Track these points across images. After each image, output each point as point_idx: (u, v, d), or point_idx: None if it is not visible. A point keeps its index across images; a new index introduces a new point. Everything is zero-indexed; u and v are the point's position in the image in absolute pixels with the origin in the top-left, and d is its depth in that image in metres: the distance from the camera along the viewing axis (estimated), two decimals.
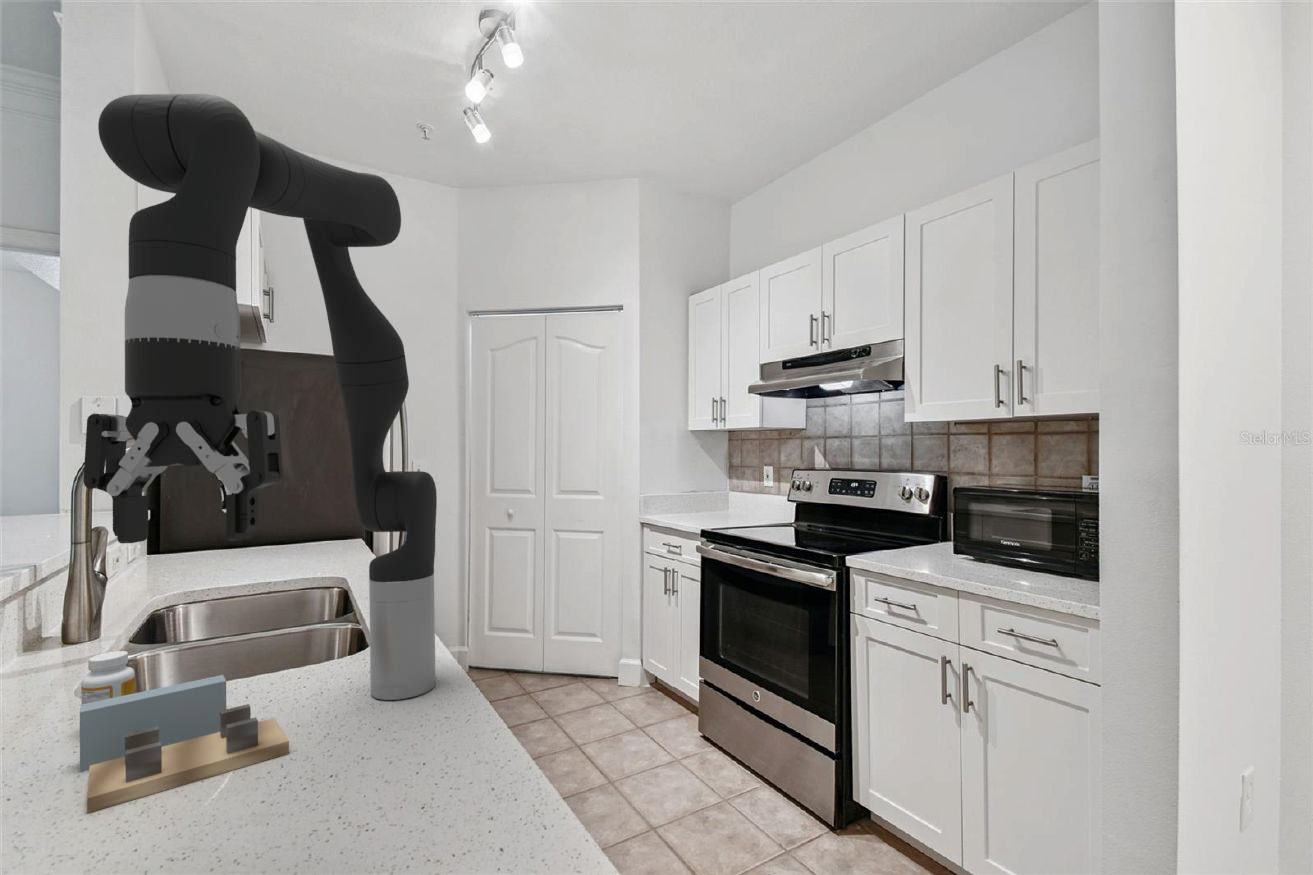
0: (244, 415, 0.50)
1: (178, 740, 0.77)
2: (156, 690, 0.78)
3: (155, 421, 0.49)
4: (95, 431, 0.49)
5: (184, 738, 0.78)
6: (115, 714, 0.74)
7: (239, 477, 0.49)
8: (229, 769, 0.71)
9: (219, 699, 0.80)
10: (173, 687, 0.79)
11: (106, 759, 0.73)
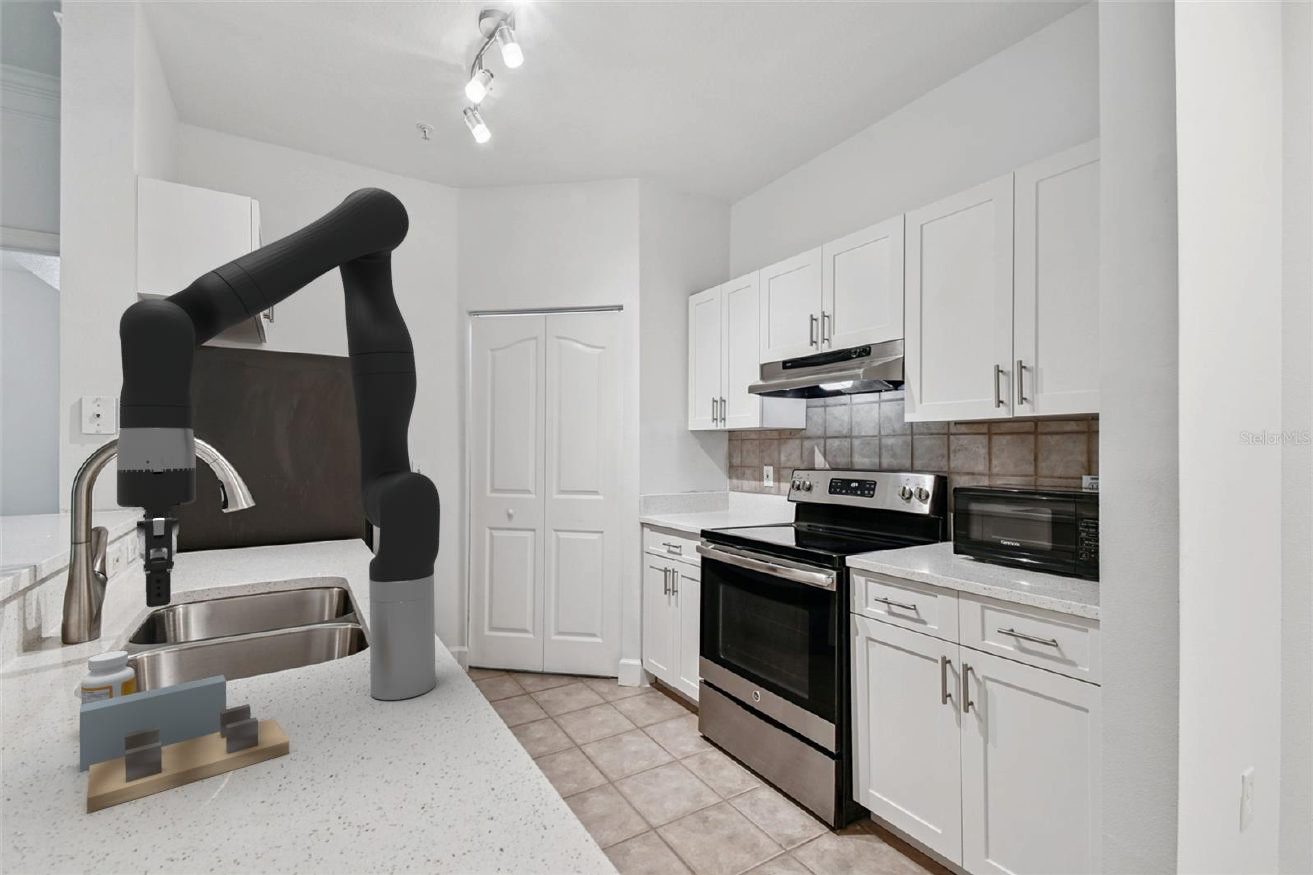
0: None
1: (178, 740, 0.77)
2: (156, 690, 0.78)
3: None
4: None
5: (184, 738, 0.78)
6: (115, 714, 0.74)
7: None
8: (229, 769, 0.71)
9: (219, 699, 0.80)
10: (173, 687, 0.79)
11: (106, 759, 0.73)
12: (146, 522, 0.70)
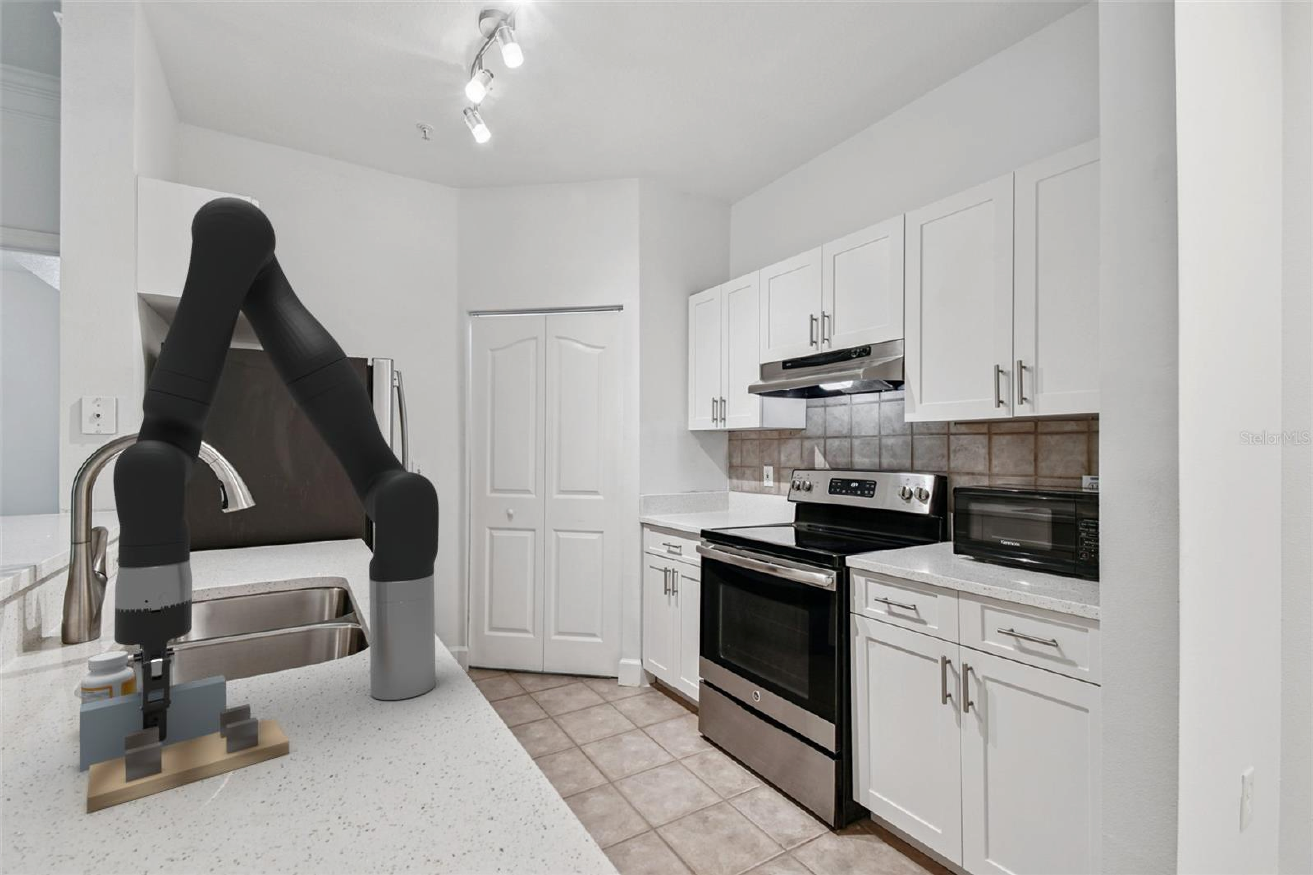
0: None
1: (178, 740, 0.77)
2: None
3: (166, 652, 0.77)
4: None
5: (184, 738, 0.78)
6: (115, 714, 0.74)
7: None
8: (229, 769, 0.71)
9: (219, 699, 0.80)
10: (173, 687, 0.79)
11: (106, 759, 0.73)
12: (144, 665, 0.72)
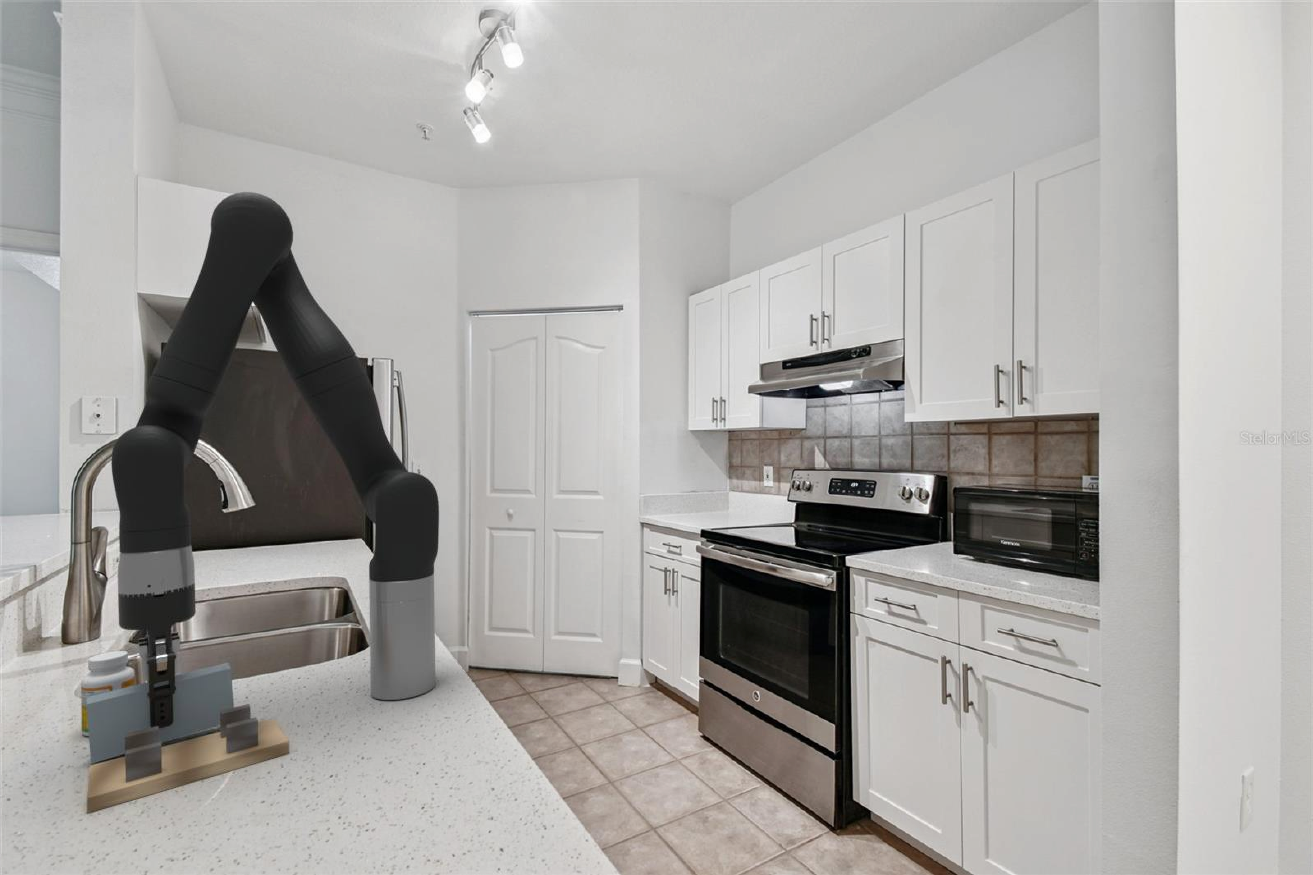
0: None
1: (187, 728, 0.78)
2: None
3: (171, 639, 0.77)
4: None
5: (193, 725, 0.79)
6: (122, 705, 0.74)
7: None
8: (229, 769, 0.71)
9: (225, 686, 0.81)
10: (178, 676, 0.79)
11: (116, 749, 0.74)
12: (150, 663, 0.72)
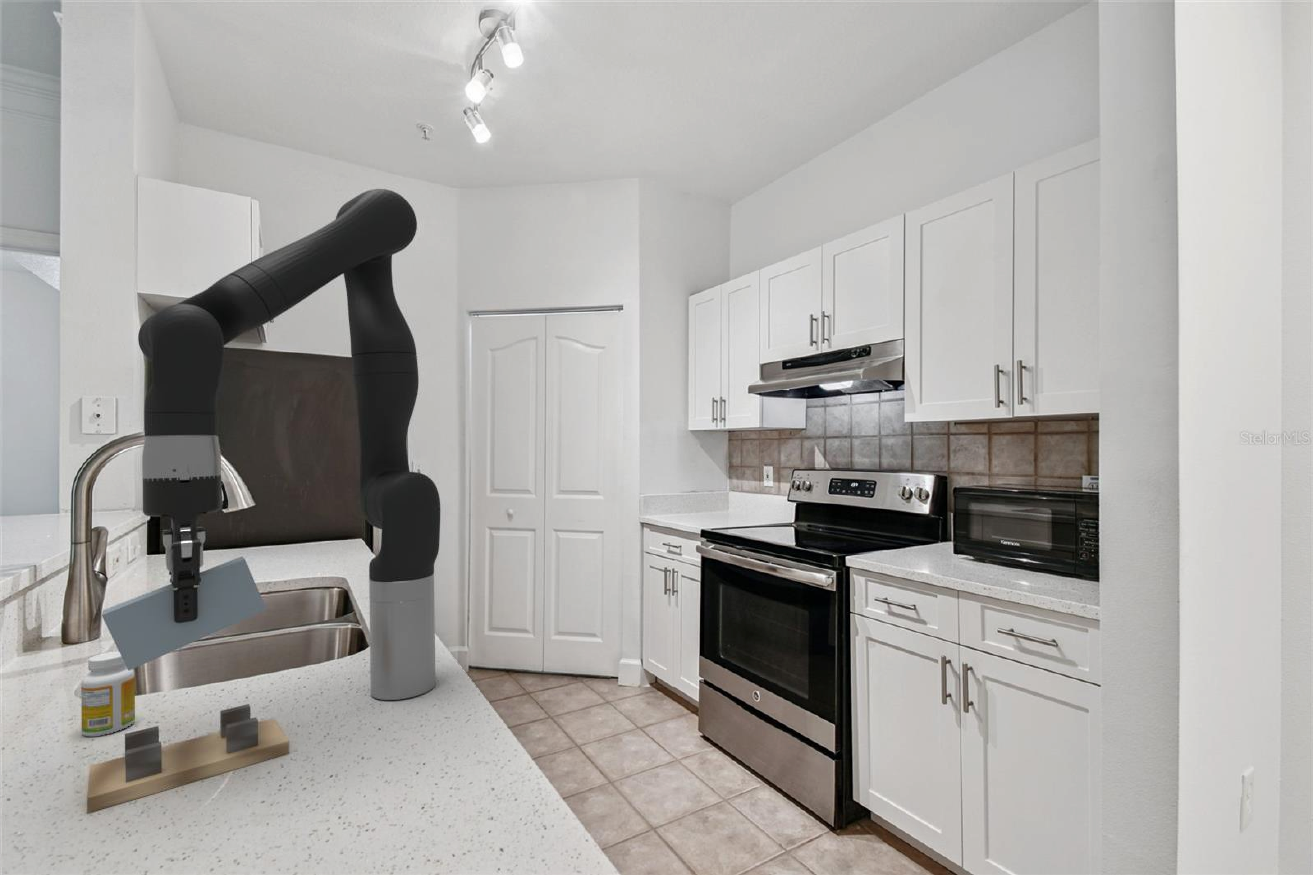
0: None
1: (218, 623, 0.75)
2: None
3: (196, 530, 0.73)
4: None
5: (223, 620, 0.75)
6: (140, 611, 0.70)
7: None
8: (229, 769, 0.71)
9: (245, 577, 0.77)
10: None
11: (150, 653, 0.71)
12: (174, 548, 0.68)
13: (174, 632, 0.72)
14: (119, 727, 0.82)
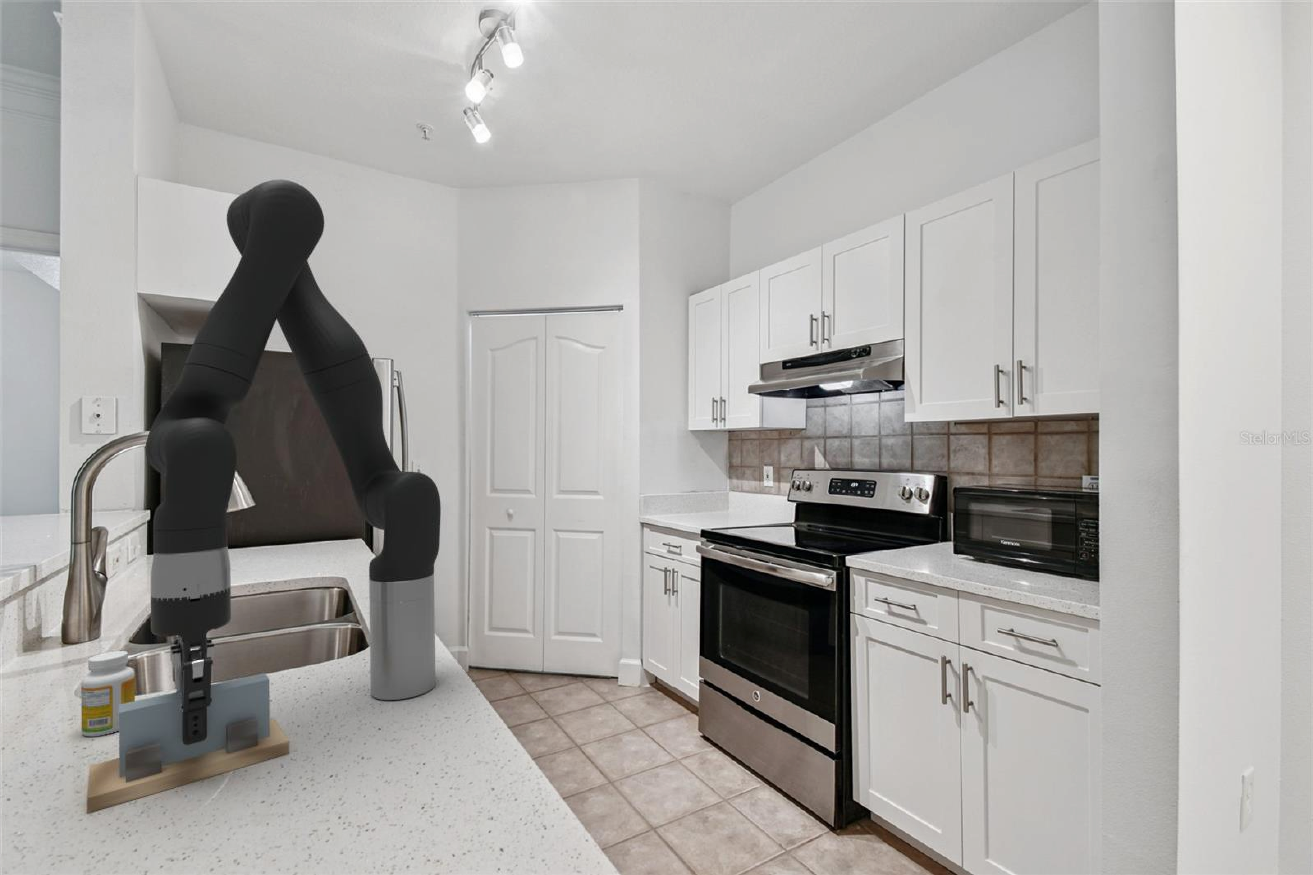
0: None
1: (220, 742, 0.73)
2: None
3: None
4: None
5: None
6: (155, 715, 0.69)
7: None
8: (229, 769, 0.71)
9: (262, 698, 0.76)
10: (214, 686, 0.74)
11: None
12: (185, 668, 0.67)
13: (177, 744, 0.70)
14: None
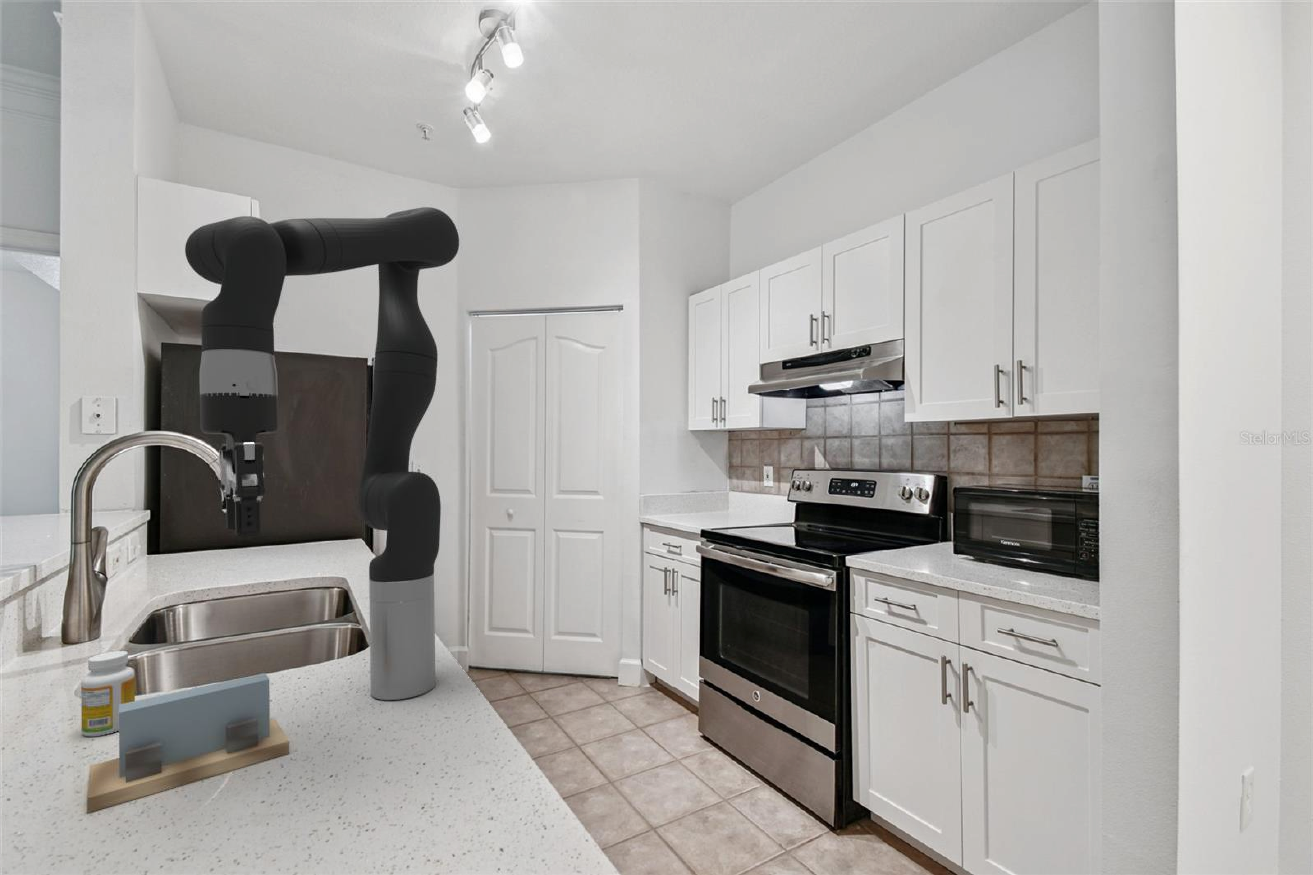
0: None
1: (220, 742, 0.73)
2: (196, 689, 0.74)
3: None
4: None
5: None
6: (155, 715, 0.69)
7: None
8: (229, 769, 0.71)
9: (262, 698, 0.76)
10: (214, 686, 0.74)
11: None
12: (237, 445, 0.66)
13: (177, 744, 0.70)
14: None
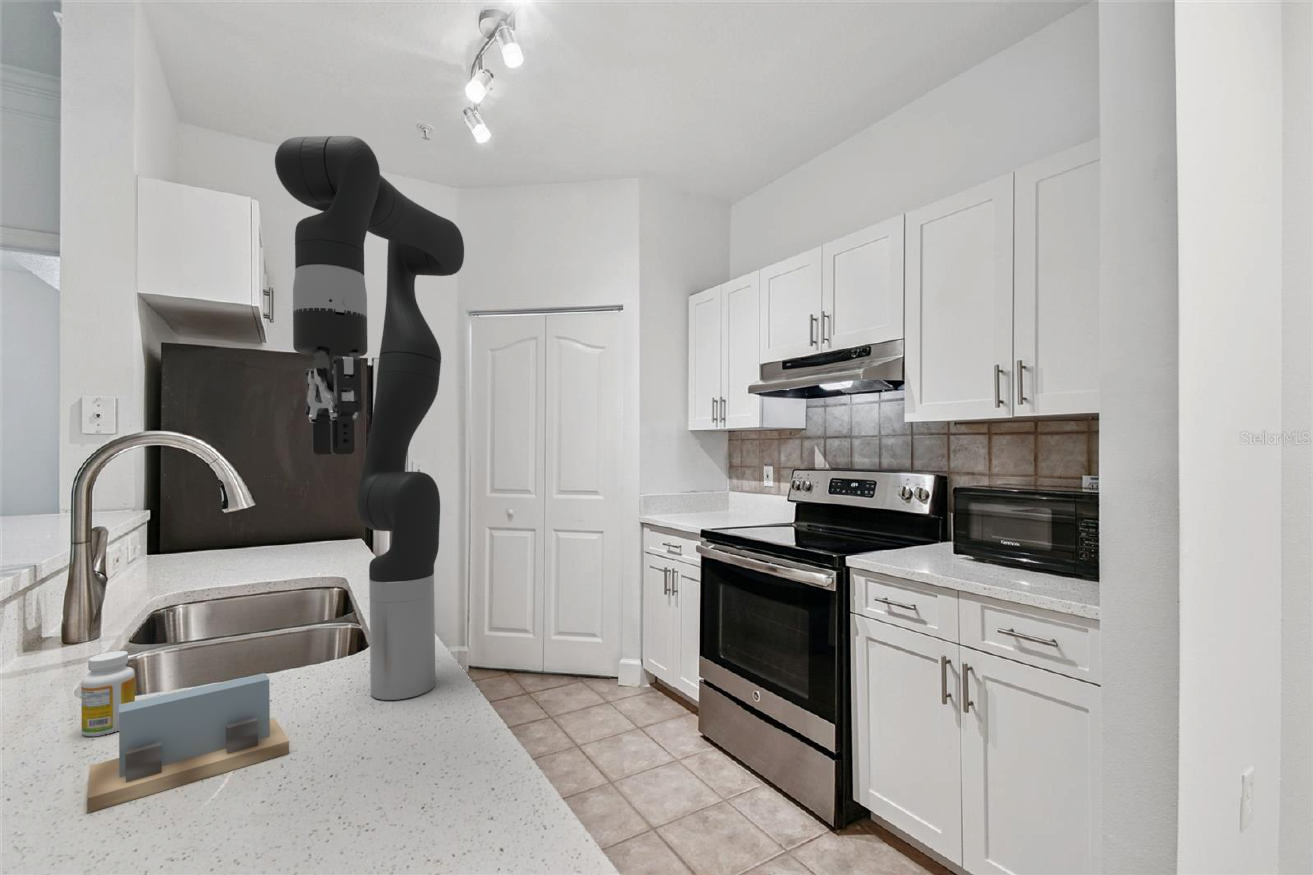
0: None
1: (220, 742, 0.73)
2: (196, 689, 0.74)
3: None
4: None
5: None
6: (155, 715, 0.69)
7: None
8: (229, 769, 0.71)
9: (262, 698, 0.76)
10: (214, 686, 0.74)
11: None
12: (337, 358, 0.65)
13: (177, 744, 0.70)
14: None
